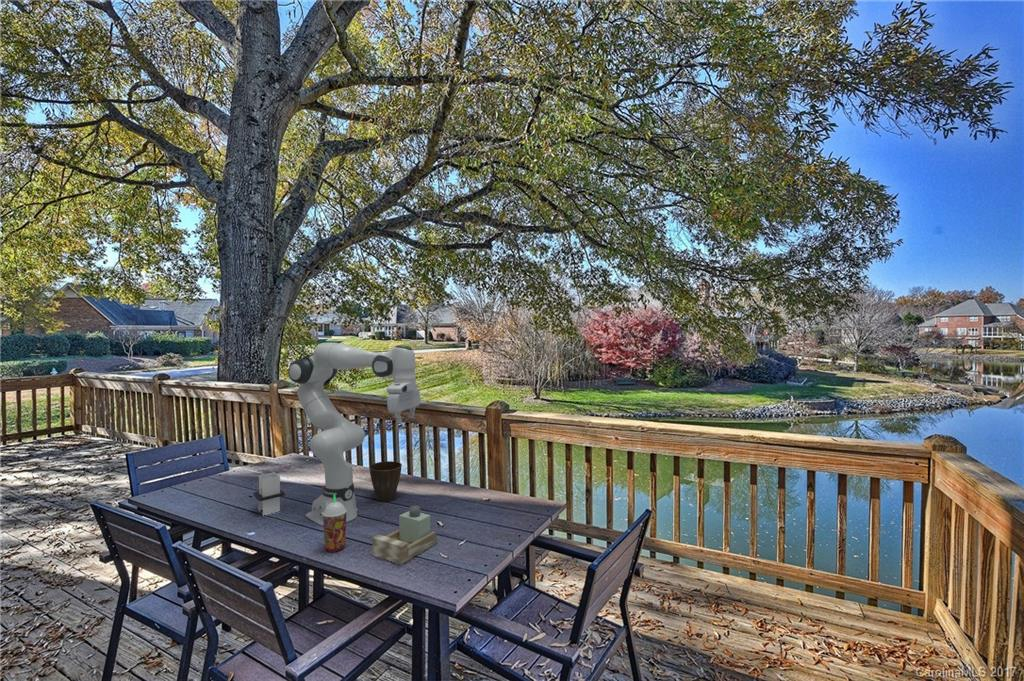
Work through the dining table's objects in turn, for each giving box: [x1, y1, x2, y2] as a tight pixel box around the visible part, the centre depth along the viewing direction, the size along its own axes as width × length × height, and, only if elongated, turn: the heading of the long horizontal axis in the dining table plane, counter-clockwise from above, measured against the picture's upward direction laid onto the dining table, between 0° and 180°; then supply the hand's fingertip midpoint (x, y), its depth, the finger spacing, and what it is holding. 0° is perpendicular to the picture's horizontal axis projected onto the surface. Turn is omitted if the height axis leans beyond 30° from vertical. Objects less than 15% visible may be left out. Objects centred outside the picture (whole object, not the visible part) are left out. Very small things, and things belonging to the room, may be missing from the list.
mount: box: [371, 528, 438, 566], centre depth 171 cm, size 14×19×6 cm
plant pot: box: [368, 460, 403, 503], centre depth 223 cm, size 15×15×16 cm
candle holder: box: [253, 471, 286, 517], centre depth 208 cm, size 25×24×16 cm
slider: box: [398, 504, 432, 543], centre depth 176 cm, size 10×6×12 cm, turn 60°
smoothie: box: [323, 495, 347, 553], centre depth 172 cm, size 8×8×20 cm
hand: (405, 420), depth 187 cm, fingers open, 8 cm apart
